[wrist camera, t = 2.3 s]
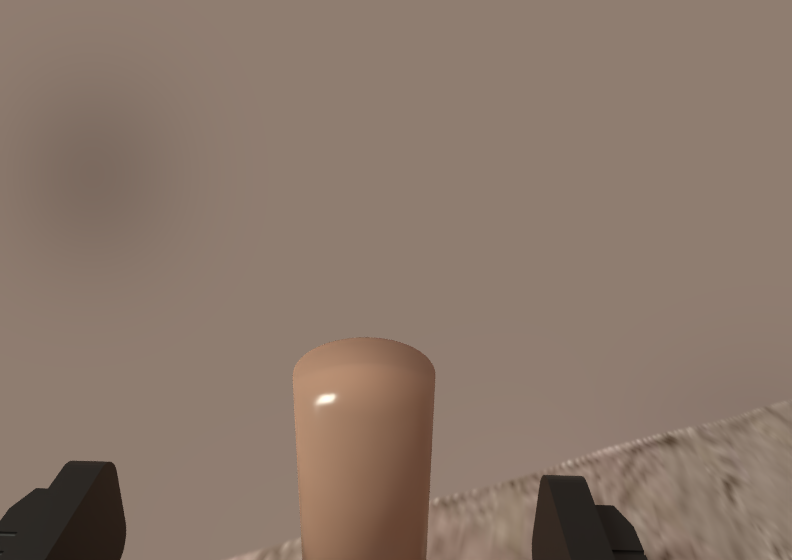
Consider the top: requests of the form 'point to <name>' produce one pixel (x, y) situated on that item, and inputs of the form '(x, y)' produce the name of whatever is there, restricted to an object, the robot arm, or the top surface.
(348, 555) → the terracotta canister
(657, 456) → the top surface
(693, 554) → the top surface
